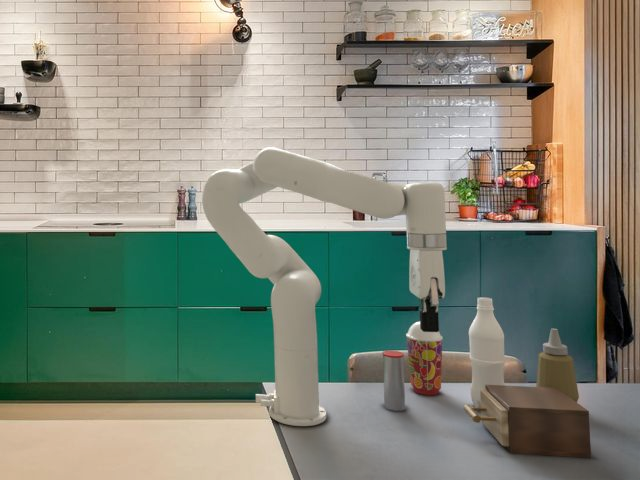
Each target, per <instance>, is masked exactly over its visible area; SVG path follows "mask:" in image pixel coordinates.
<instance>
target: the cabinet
mask: <svg viewBox="0 0 640 480" xmlns="http://www.w3.org/2000/svg"><path fill="white" fill-rule="evenodd" d="M485 390H487V391H488V392H489V393H490V394H491V395H492V396H493V397H494V398H496V399H497V400H498V401H499V402H500V403H501V404H502V405H504V406H505V407H506V408H507V409H508V425H509V446H505V448H506V449H507V450H508V451H509V452H510V453H511V454H524V455H541V456H556V457H571V458H586V459H587V458H588V459H592V447H591V427H590V410H588V409H587V408H586V407H584V406H582V405H581V403H578V401H577V402H575V401H574V400H572V399H571V398H570V397H568V396H567V395H565V394H564V393H563V392H561V391H560V390H558V389H557V388H549V387H536V386H524V385H523V386H522V385H505V386H503V385H485Z"/></svg>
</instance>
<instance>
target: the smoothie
mask: <svg viewBox="0 0 640 480" xmlns="http://www.w3.org/2000/svg"><path fill="white" fill-rule="evenodd" d="M421 311H423V310H421ZM405 337H406V347H407V355H408V356H407V357H408V367H409V377H410V386H411V387H412V389H413V391H414V392H415V393H417V394H420V395H424V396H435V395H438V394H439V392H440V390H441V389H442V368H443V367H442V365H443V363H442V362H443V361H442V360H443V335H442V334H441V332H440V330H439V331H438V332H423V331H422V330H421V329H420V320H419V321H415V322H414V323H412V324H411V325H410V327H409V328H408V331H407V333H405Z"/></svg>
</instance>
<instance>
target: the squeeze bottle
mask: <svg viewBox="0 0 640 480" xmlns="http://www.w3.org/2000/svg"><path fill="white" fill-rule="evenodd" d="M558 330H559V329H558V328H550V332H549V337H548V342H544V343H543V344H542V352H540V353H538V357H537V358H538V360H537V373H536V386H535V387H549V388H557V389H558V390H560V391H561V392H563V393H564V394H565V395H567V396H568V397H570V398H571V399H572V400H574V401H575V402H577V403H578V401H579V398H580V394H579V388H578V381H577V376H576V370H575V364H574V358H572V356H570V355H568V352H569V351H568V346H567V345H565V344H562V340H561V338H560V334H559V331H558Z"/></svg>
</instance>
